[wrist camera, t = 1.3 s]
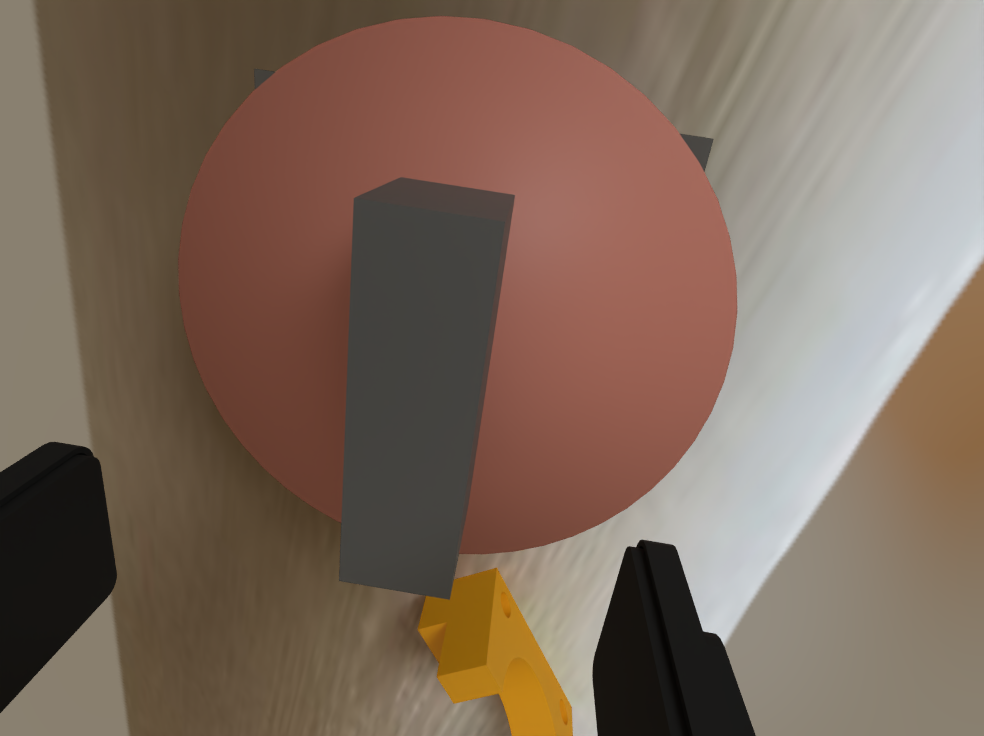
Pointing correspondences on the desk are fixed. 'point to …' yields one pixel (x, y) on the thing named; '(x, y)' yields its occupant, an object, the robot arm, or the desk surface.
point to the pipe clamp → (494, 655)
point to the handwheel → (456, 291)
